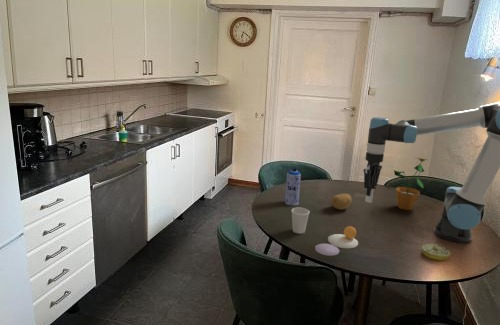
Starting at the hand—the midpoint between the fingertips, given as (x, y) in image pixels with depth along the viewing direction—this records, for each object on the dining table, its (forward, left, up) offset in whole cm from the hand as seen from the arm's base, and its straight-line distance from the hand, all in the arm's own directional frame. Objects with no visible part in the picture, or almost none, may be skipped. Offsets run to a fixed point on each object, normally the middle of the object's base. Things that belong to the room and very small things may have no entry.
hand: (368, 201), depth 172 cm
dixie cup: (+19, +26, -14) cm, 35 cm away
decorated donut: (-32, 0, -14) cm, 35 cm away
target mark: (0, +19, -14) cm, 24 cm away
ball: (0, +14, -11) cm, 18 cm away
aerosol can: (+44, +1, -14) cm, 46 cm away
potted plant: (0, -44, -14) cm, 46 cm away
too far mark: (0, +31, -14) cm, 34 cm away
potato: (+22, -14, -14) cm, 30 cm away
